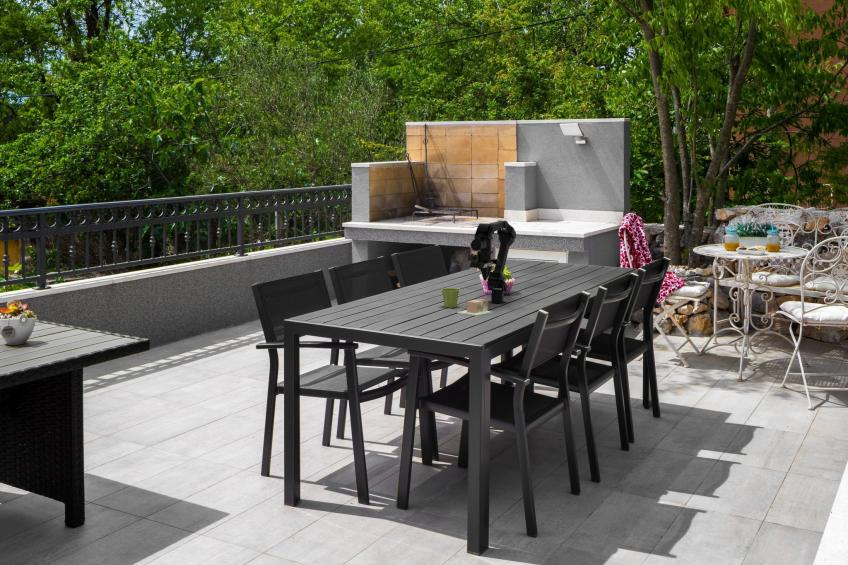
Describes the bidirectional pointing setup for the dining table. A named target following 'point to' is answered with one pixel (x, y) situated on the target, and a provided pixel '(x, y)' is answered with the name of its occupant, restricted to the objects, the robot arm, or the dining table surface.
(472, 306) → the birch block
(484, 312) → the sage mat
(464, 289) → the dining table surface
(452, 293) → the plant pot
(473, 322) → the dining table surface
